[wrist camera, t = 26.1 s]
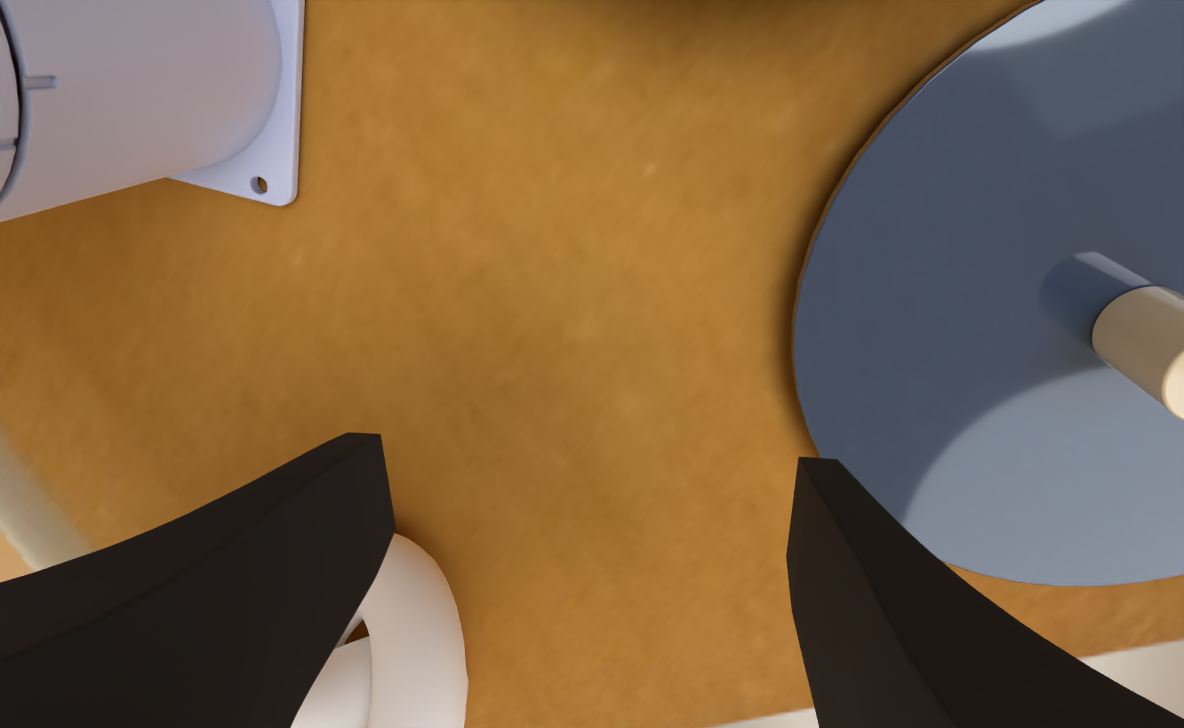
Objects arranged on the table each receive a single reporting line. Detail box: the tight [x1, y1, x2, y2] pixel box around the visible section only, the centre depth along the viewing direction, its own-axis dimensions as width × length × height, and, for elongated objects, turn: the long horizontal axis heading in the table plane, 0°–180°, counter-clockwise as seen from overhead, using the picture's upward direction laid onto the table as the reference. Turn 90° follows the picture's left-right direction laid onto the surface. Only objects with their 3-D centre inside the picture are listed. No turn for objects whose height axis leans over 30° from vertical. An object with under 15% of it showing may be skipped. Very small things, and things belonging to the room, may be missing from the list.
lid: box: [791, 0, 1184, 586], centre depth 18 cm, size 18×18×4 cm
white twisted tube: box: [291, 533, 468, 728], centre depth 24 cm, size 11×12×9 cm
